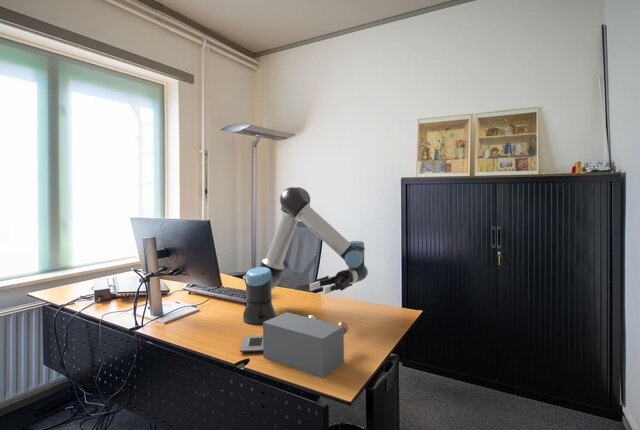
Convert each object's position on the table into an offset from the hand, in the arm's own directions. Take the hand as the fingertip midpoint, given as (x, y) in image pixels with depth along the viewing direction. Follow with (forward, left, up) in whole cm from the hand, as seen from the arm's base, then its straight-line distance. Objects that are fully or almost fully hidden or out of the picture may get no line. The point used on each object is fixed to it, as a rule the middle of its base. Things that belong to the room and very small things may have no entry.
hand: (317, 289), depth 146 cm
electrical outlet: (-18, -18, -21) cm, 33 cm away
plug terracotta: (+12, -12, -14) cm, 22 cm away
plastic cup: (-59, +38, -20) cm, 73 cm away
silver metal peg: (-2, -9, -14) cm, 17 cm away
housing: (+4, -20, -20) cm, 29 cm away
